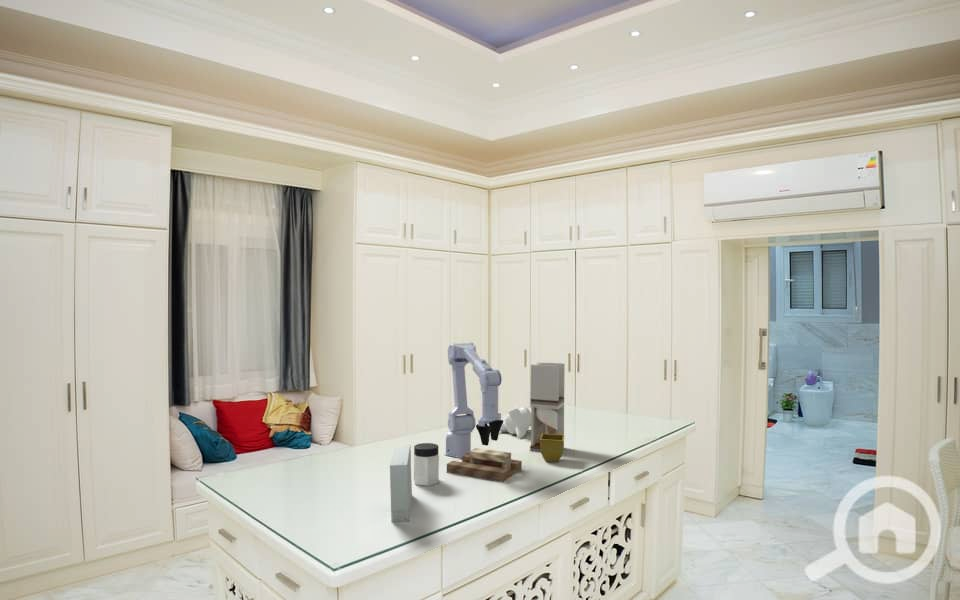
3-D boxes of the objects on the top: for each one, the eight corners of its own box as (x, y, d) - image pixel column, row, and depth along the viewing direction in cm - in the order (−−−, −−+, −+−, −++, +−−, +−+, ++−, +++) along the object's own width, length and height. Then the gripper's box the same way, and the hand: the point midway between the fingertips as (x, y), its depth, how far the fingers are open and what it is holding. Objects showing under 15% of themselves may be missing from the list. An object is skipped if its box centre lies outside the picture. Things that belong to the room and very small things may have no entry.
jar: (408, 484, 183) (408, 447, 183) (418, 476, 190) (418, 441, 190) (433, 487, 180) (434, 450, 180) (442, 479, 188) (443, 444, 188)
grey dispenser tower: (530, 451, 224) (530, 364, 224) (537, 444, 234) (538, 362, 234) (557, 454, 220) (558, 366, 220) (563, 447, 230) (564, 363, 230)
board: (446, 472, 195) (446, 463, 195) (467, 460, 210) (467, 452, 210) (503, 481, 186) (503, 473, 186) (521, 469, 200) (521, 460, 200)
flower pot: (563, 464, 206) (563, 440, 206) (539, 462, 208) (539, 438, 208) (564, 457, 215) (564, 434, 215) (541, 456, 217) (541, 433, 217)
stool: (510, 469, 196) (511, 452, 196) (505, 473, 191) (505, 456, 191) (475, 464, 202) (475, 447, 202) (469, 468, 197) (469, 451, 197)
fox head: (494, 412, 266) (487, 417, 247) (527, 401, 264) (522, 405, 244) (504, 439, 264) (497, 446, 245) (536, 428, 262) (532, 435, 242)
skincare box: (394, 495, 172) (394, 444, 172) (412, 495, 173) (412, 444, 173) (389, 522, 151) (389, 464, 151) (409, 522, 152) (409, 463, 152)
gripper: (491, 408, 188) (491, 448, 188) (508, 402, 201) (508, 439, 201) (473, 407, 192) (472, 446, 192) (491, 400, 205) (490, 437, 205)
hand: (489, 442), depth 197 cm, fingers open, 7 cm apart
